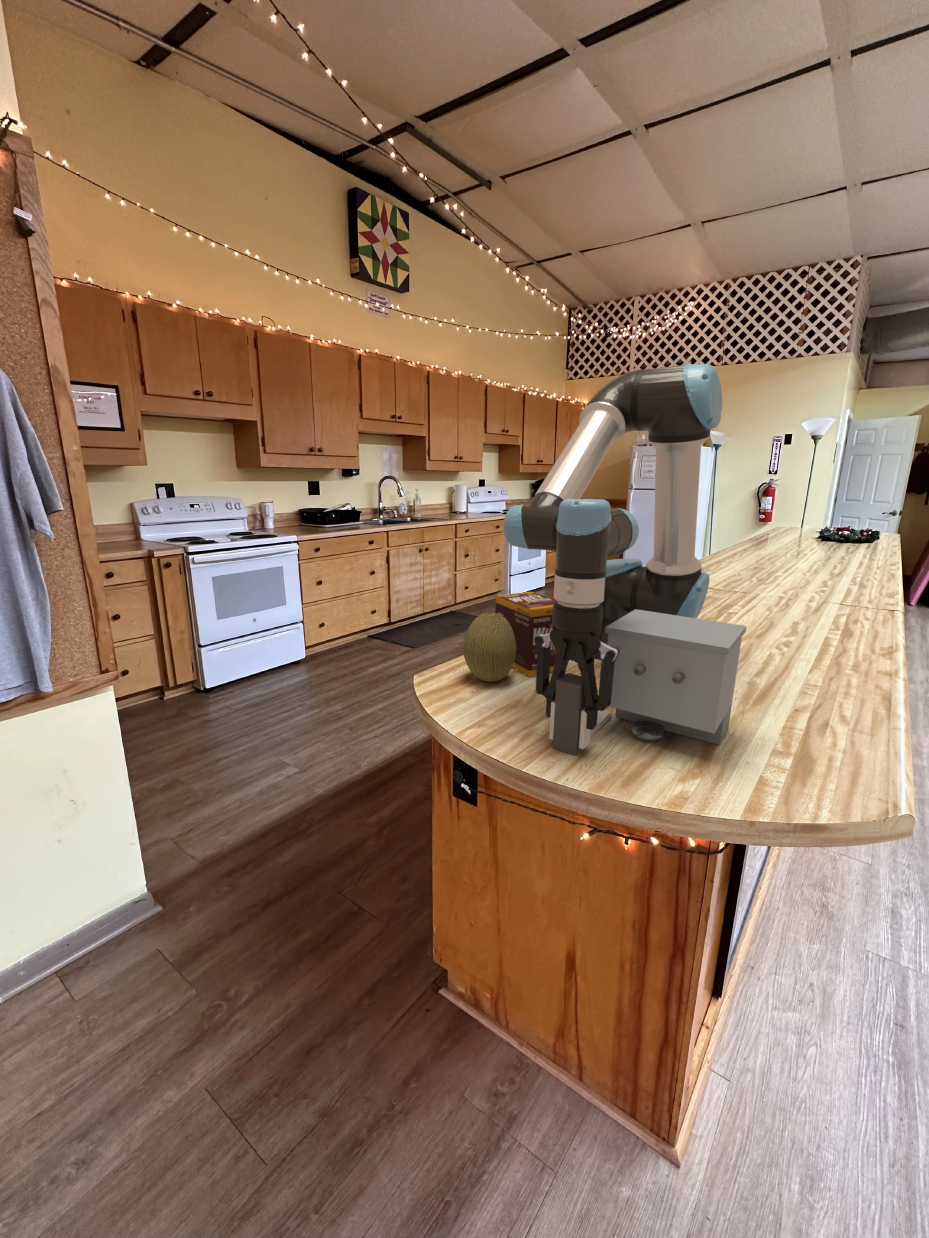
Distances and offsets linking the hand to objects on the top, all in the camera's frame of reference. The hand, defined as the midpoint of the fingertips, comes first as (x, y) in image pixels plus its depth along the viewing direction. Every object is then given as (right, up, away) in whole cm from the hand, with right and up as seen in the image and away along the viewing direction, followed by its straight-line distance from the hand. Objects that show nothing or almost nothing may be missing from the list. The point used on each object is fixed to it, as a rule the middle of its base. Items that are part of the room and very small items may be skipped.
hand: (569, 740), depth 89 cm
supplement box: (-2, +9, +39) cm, 40 cm away
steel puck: (+14, 0, +5) cm, 15 cm away
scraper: (+4, 0, +5) cm, 7 cm away
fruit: (-12, +7, +29) cm, 32 cm away
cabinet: (+18, 0, +6) cm, 19 cm away
